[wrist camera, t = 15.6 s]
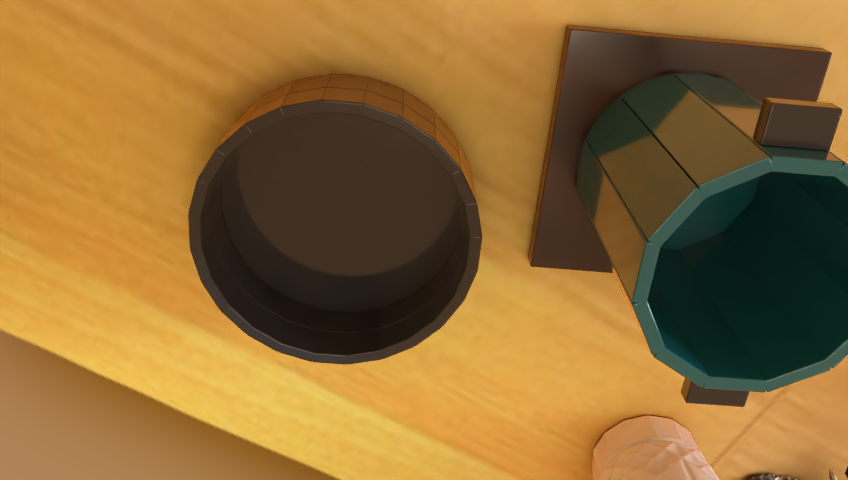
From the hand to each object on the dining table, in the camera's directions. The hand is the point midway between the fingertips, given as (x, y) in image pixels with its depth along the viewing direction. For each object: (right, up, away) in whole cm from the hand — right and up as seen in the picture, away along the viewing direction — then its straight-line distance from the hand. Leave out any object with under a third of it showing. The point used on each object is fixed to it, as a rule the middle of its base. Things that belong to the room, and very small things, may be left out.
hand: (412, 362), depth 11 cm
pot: (+13, +5, +30) cm, 34 cm away
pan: (-4, +4, +32) cm, 33 cm away
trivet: (+13, +6, +31) cm, 34 cm away
